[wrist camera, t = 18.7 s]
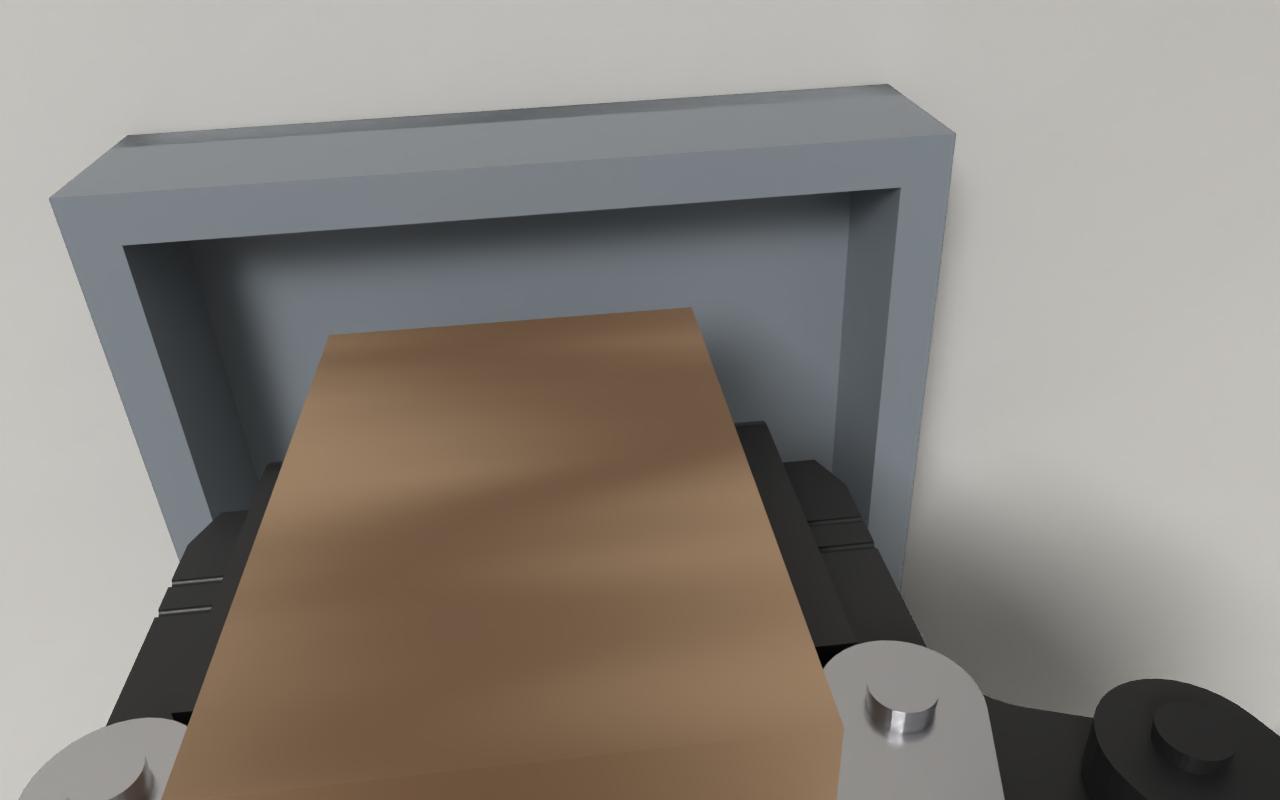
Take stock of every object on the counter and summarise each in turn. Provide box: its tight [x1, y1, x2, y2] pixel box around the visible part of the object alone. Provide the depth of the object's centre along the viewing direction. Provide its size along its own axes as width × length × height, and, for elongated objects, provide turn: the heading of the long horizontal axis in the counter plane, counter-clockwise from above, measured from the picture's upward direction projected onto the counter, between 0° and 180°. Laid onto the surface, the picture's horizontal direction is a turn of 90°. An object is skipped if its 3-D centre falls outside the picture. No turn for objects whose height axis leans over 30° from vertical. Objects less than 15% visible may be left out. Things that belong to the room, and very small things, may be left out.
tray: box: [49, 84, 956, 593], centre depth 16 cm, size 10×15×2 cm
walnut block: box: [161, 307, 844, 800], centre depth 9 cm, size 4×4×6 cm
